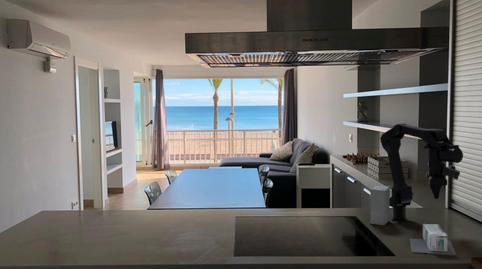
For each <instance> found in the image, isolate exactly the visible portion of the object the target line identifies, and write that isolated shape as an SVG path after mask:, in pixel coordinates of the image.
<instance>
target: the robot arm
mask: <svg viewBox="0 0 482 269" xmlns="http://www.w3.org/2000/svg"><path fill="white" fill-rule="evenodd" d="M405 135H406V136H410V137H415V138H419V139H421V140H422V142H424V143H425V145H424V146H423V149H424V150H427V167H428V168H427V169H428V171H426V173H425V177H426V179H428V180H427V183H428V185H429V188H430V190H431V193H432V195H433V197H434V199H435V200H439V196H440V192H441V189H442V187H443V186H448V179H447V178H446V177H449V178H453V180H456V181H457V180H458V179H459V177H460V174H461V171H460V170H458V169H456V166H455V165H451V164H450V165H449V166H446V163H455V164H459V163H461V162H462V160H463V158H464V153H463V150H462V149H461V148H460V145H459V144H453V143H452V141H451V140H450V139H449V137H448V135H447V134H446V131H445V130H444V129H442V128H423V127H419V126H414V125H411V124H407V123H396V124H395V125H394V126H393V127H392V128H390V129H388V130H386V131H385V132H383V133H382V134H381V136H380V137H379V138H380V139H379V140H380V144H381V146H382V148H383V150H384V151H385V152H386V153H387V158H388V163H389V167H390V173H391V177H392V182H393V186H392V188H391V195H390V207H391V208H392V215H391V221H399V222H408V217H407V206H411V203H412V200H413V198H414V193H413V188H412V187H413V186H412V185H408V184H407V183H406V180H405V176H404V175H405V174H404V169H403V165H402V160H401V156H400V148H401V146H402V143H401V140H402V139H403V138H404V137H405ZM445 162H446V163H445Z"/></svg>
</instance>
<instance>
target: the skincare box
mask: <svg viewBox="0 0 482 269" xmlns="http://www.w3.org/2000/svg"><path fill="white" fill-rule="evenodd" d="M369 194H370V196H369V198H370V206H369V208H370V209H369V210H370V212H369V213H370V214H369V215H370V216H369V221H370V222H369V224H373V225H379V226H385V225H386V224H388V222H389V221H390V207H391V206H390V198H391V195H390V194H391V187H390V186H386V185H374V186H373V187H371V188H370V192H369Z"/></svg>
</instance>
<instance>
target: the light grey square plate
mask: <svg viewBox="0 0 482 269" xmlns="http://www.w3.org/2000/svg"><path fill="white" fill-rule="evenodd" d="M409 243H410V244H409V245H410V252H411V254H412V253H413V254H424V253H427V254H429V255H441V256H442V255H443V256H453V257H454V256H455V257H456V256H457V253H456V251H455V248H454V246H453V244H452V242H451V240H447V251H430V250H429V248H428V246H427V245H426V243H425V241H424V239H423V238H409Z"/></svg>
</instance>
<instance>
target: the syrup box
mask: <svg viewBox="0 0 482 269" xmlns="http://www.w3.org/2000/svg"><path fill="white" fill-rule="evenodd" d="M422 239H424V241H425V243H426V245H427V246H428V248H429V250H430V251H447V241H448V234H447V233H446V232H445V231H444V229H443V228H442V227H441V225H440V224H439V223H438V224H434V223H430V224H428V223H422Z"/></svg>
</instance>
